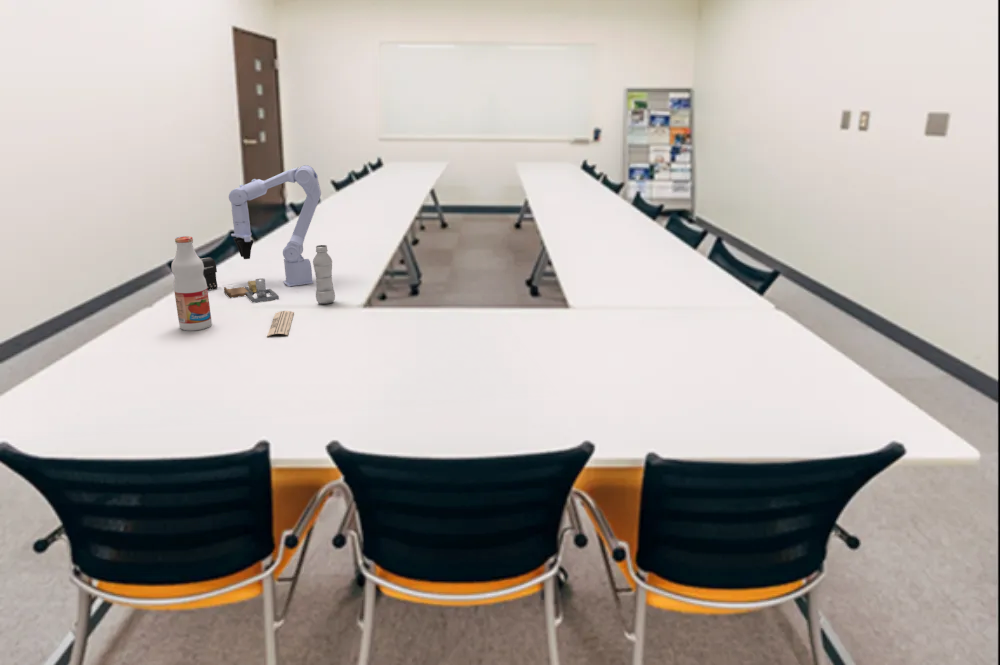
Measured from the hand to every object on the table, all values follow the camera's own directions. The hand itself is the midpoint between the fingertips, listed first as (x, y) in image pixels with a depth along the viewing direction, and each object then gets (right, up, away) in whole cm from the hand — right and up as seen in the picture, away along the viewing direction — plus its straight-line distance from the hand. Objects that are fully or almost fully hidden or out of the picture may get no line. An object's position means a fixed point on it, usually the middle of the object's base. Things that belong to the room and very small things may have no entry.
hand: (245, 257), depth 273 cm
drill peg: (+10, -15, -13) cm, 23 cm away
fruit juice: (0, -26, -44) cm, 51 cm away
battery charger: (-13, -12, -3) cm, 18 cm away
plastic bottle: (+35, -18, -20) cm, 44 cm away
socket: (+8, -14, -10) cm, 19 cm away
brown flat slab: (0, -14, -8) cm, 16 cm away
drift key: (+5, -13, -5) cm, 14 cm away
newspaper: (+25, -26, -43) cm, 56 cm away
